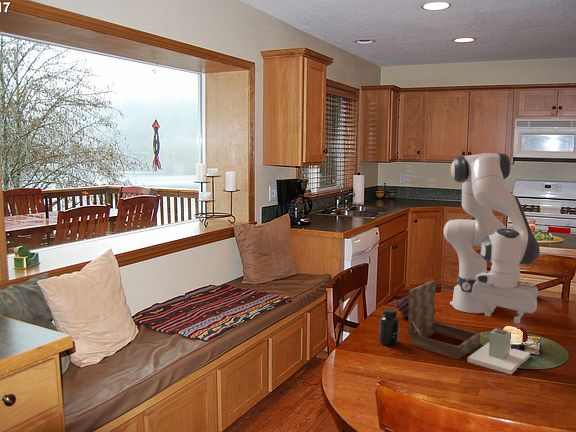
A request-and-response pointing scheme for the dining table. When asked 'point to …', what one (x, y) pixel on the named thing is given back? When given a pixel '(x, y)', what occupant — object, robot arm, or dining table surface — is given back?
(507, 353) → the block
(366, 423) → the dining table surface
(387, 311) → the supplement bottle
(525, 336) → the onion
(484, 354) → the cutting board
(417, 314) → the walnut box
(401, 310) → the pine cone
